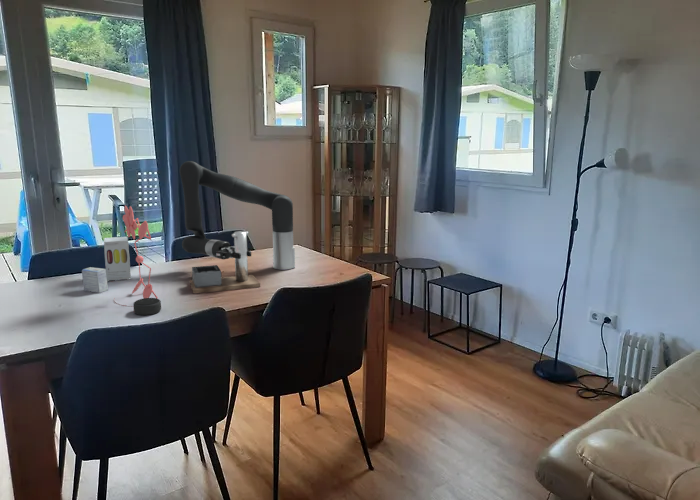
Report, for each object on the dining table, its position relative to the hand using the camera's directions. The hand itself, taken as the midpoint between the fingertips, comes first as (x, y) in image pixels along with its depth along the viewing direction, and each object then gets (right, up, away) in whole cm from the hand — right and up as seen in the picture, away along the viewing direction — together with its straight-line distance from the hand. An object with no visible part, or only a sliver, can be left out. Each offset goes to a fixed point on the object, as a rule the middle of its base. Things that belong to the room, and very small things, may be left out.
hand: (245, 255), depth 213 cm
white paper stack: (-57, -14, -7) cm, 59 cm away
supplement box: (-56, -10, +11) cm, 58 cm away
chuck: (-15, -11, -1) cm, 19 cm away
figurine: (-38, -16, -16) cm, 44 cm away
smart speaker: (-28, -20, -30) cm, 45 cm away
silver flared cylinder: (-2, -10, +4) cm, 11 cm away
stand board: (-9, -12, +2) cm, 15 cm away
